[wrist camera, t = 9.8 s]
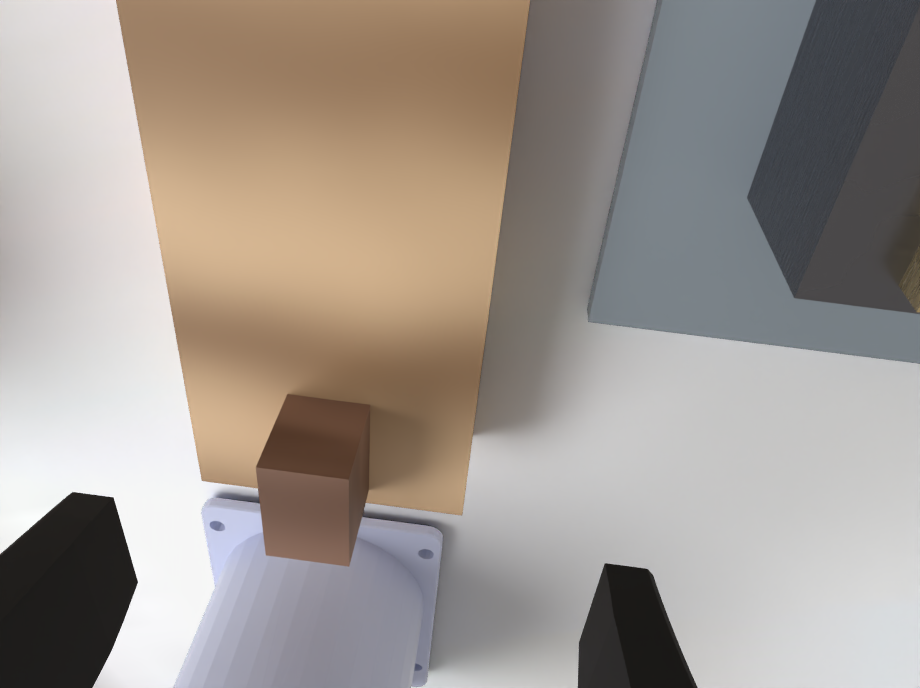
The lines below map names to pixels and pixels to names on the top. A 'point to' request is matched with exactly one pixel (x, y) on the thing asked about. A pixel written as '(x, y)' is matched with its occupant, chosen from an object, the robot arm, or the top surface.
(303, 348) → the hand plane
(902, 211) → the lever cap
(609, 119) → the top surface
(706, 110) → the slate mat
